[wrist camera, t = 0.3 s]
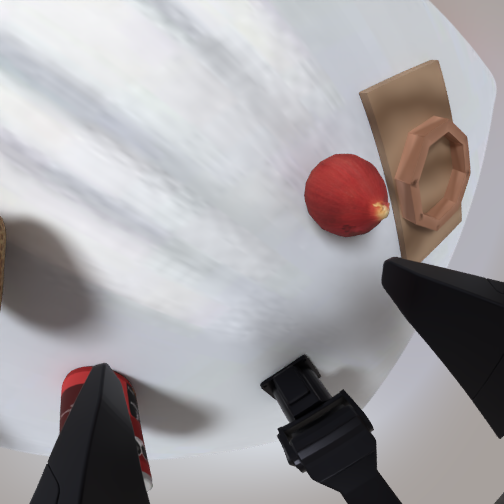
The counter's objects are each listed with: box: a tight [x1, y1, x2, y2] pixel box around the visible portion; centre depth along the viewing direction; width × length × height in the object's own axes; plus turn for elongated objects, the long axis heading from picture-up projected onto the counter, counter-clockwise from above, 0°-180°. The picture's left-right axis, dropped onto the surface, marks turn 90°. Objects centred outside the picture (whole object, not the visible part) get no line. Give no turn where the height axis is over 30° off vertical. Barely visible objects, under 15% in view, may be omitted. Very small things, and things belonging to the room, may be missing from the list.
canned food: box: [60, 366, 153, 492], centre depth 20 cm, size 8×8×11 cm
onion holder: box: [359, 60, 471, 262], centre depth 26 cm, size 22×12×3 cm, turn 29°
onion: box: [304, 154, 390, 237], centre depth 20 cm, size 6×6×8 cm
